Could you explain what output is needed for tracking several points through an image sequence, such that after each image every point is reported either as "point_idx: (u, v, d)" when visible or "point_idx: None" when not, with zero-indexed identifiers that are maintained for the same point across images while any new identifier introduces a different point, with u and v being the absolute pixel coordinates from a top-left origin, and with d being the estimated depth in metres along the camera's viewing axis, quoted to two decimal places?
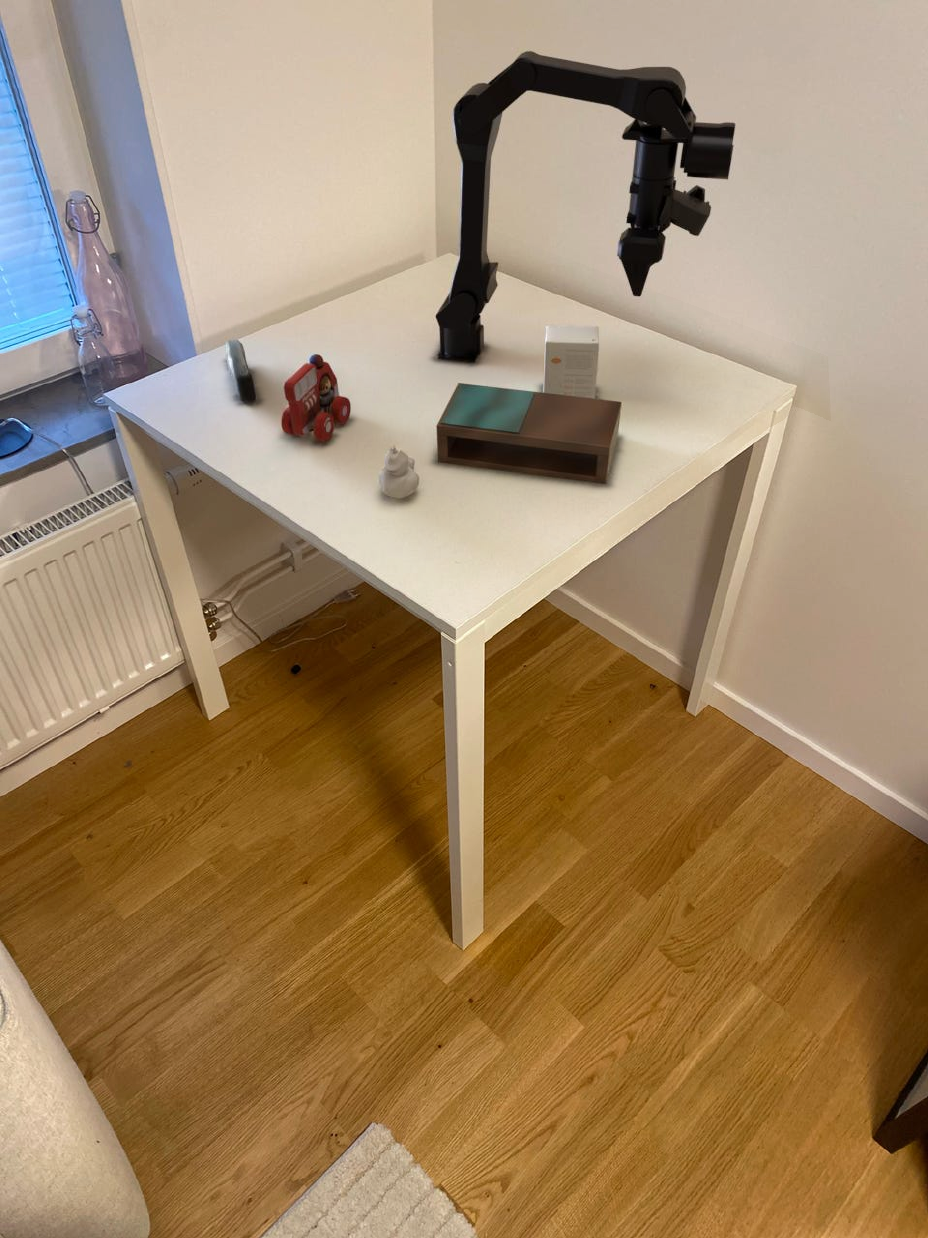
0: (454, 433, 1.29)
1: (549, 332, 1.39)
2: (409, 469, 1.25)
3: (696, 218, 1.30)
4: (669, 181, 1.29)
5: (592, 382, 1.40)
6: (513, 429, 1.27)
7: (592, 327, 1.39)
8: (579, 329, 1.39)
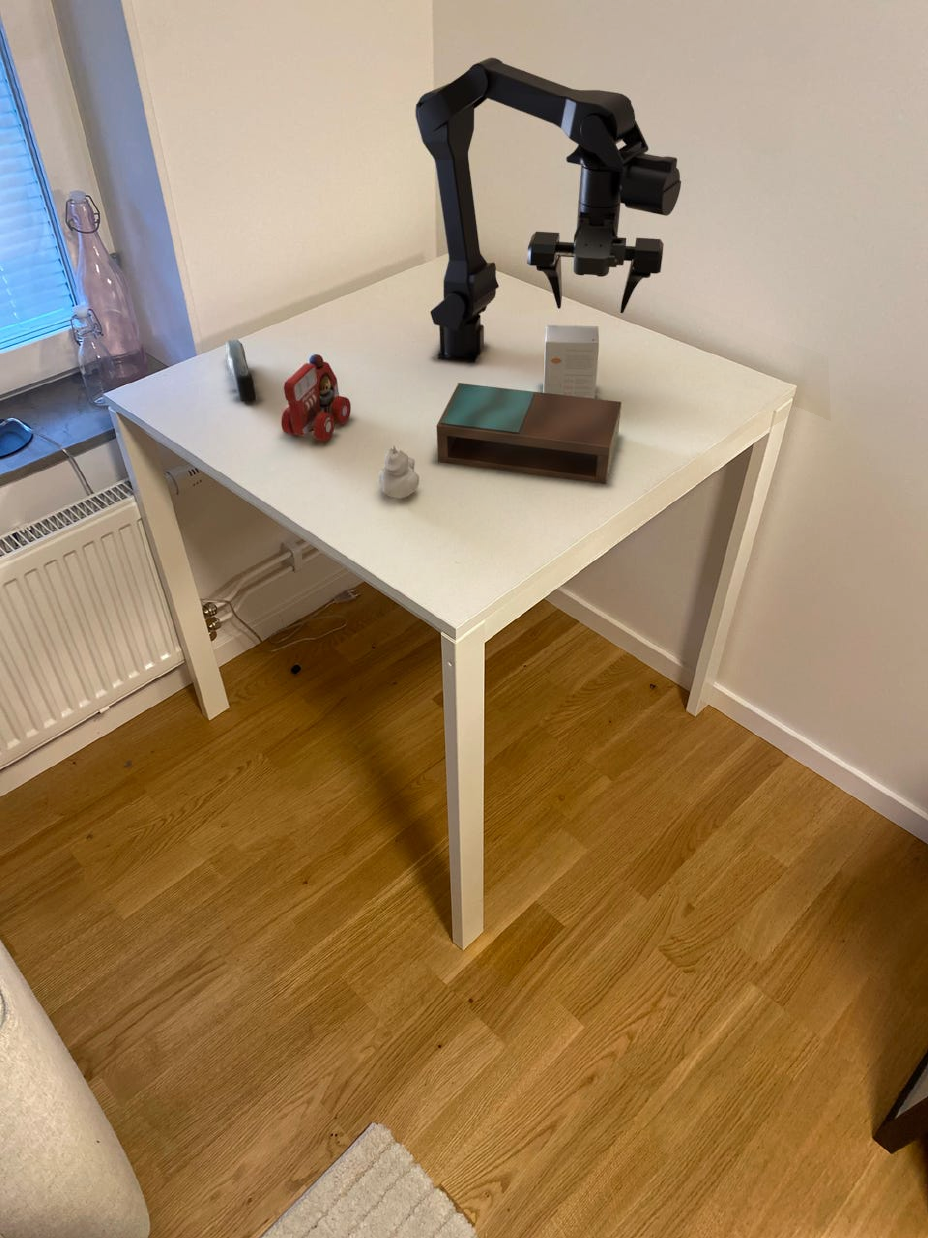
0: (454, 433, 1.29)
1: (549, 332, 1.39)
2: (409, 469, 1.25)
3: None
4: (587, 209, 1.26)
5: (592, 382, 1.40)
6: (513, 429, 1.27)
7: (592, 327, 1.39)
8: (579, 329, 1.39)
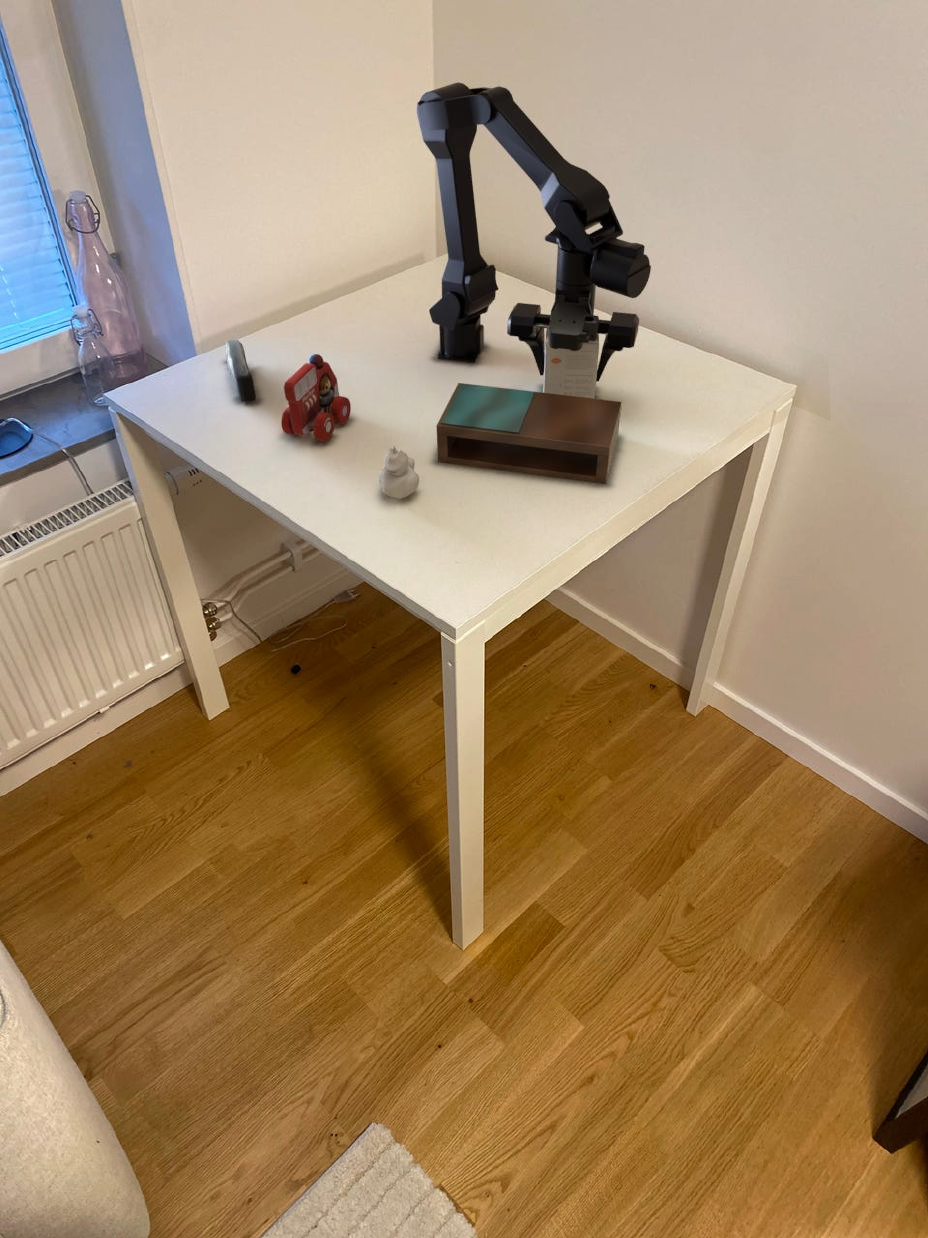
0: (454, 433, 1.29)
1: None
2: (409, 469, 1.25)
3: None
4: (563, 287, 1.31)
5: (592, 382, 1.40)
6: (513, 429, 1.27)
7: None
8: None
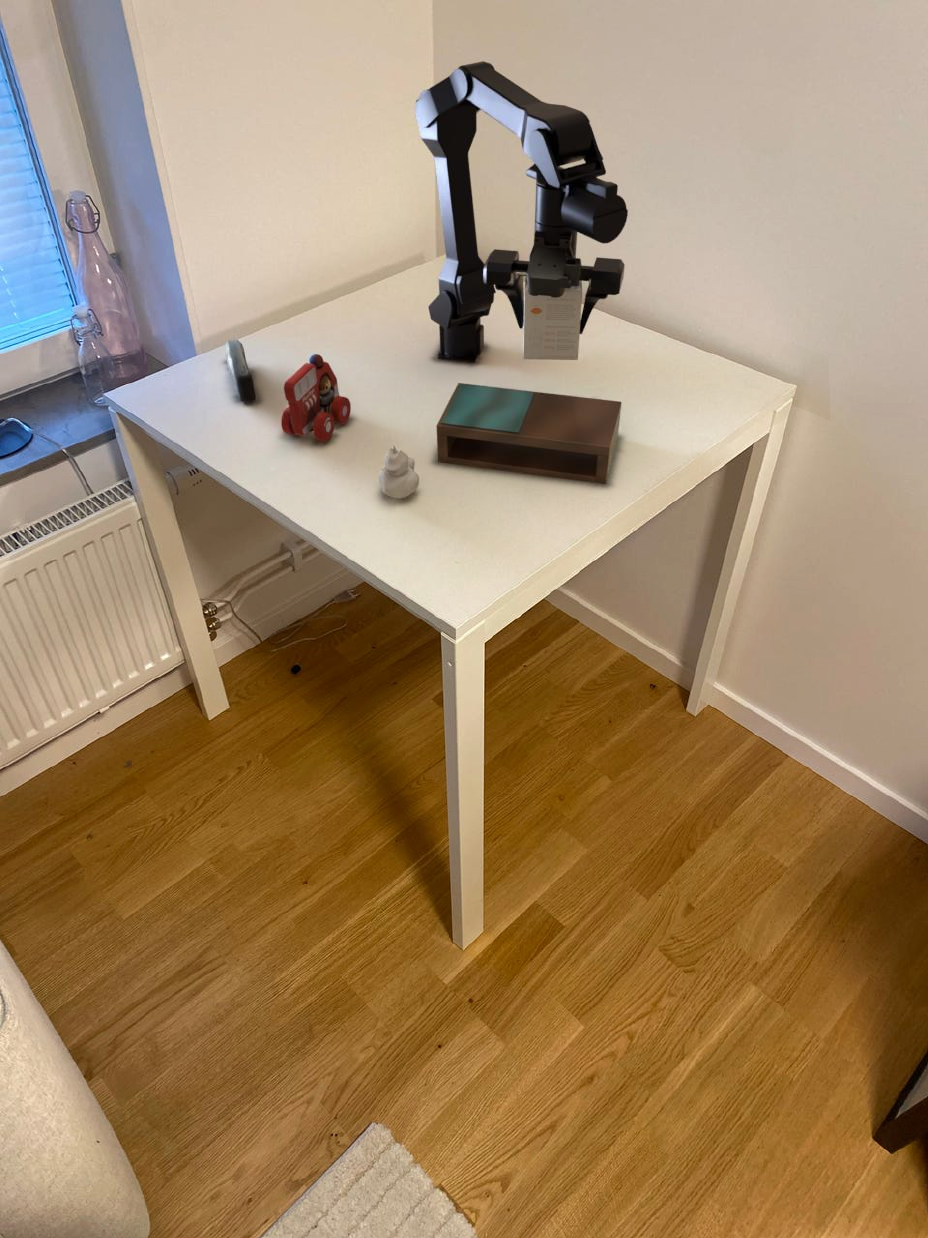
0: (454, 433, 1.29)
1: None
2: (409, 469, 1.25)
3: None
4: (542, 228, 1.22)
5: (575, 335, 1.31)
6: (513, 429, 1.27)
7: None
8: None
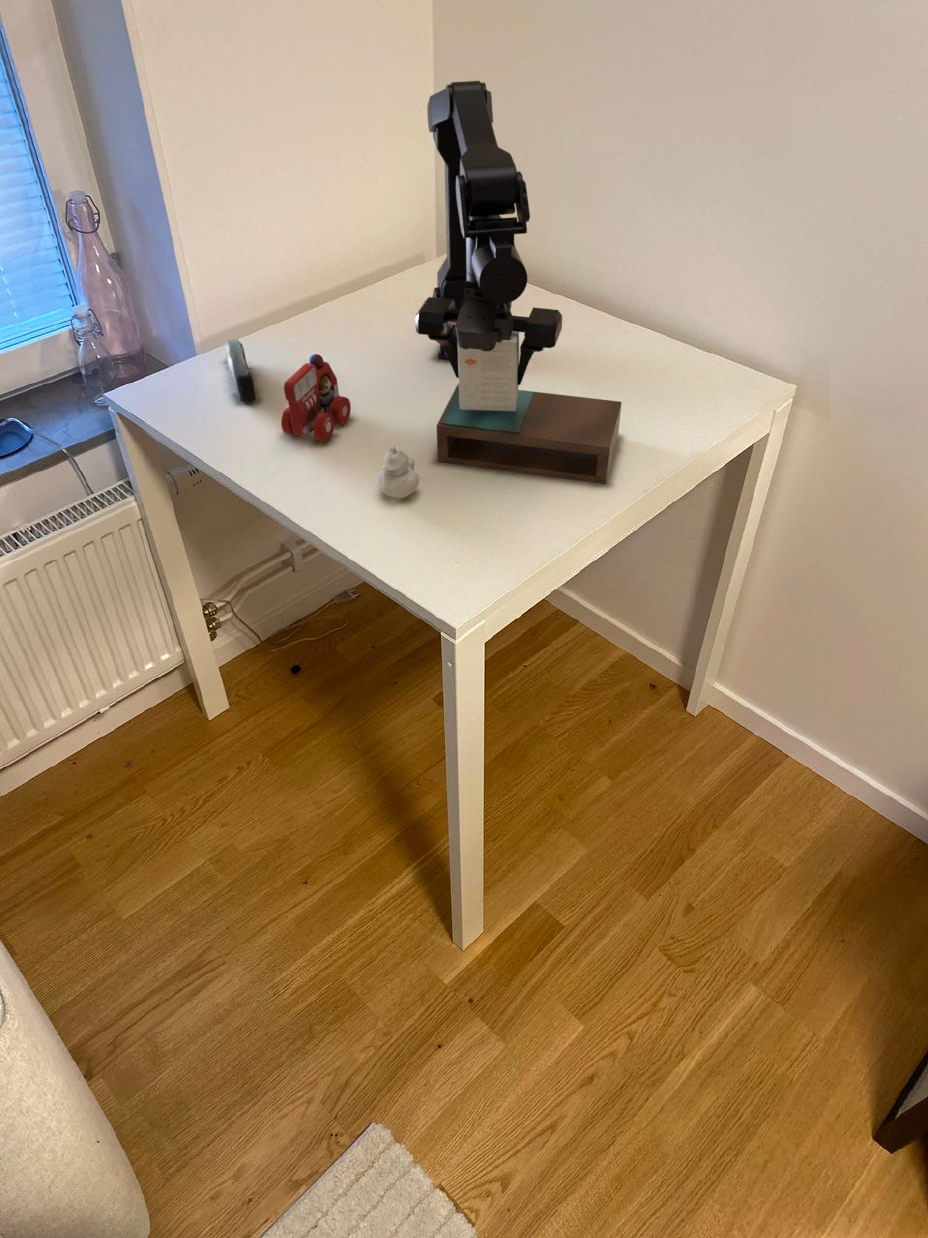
0: (454, 433, 1.29)
1: None
2: (409, 469, 1.25)
3: None
4: (473, 279, 1.17)
5: (512, 386, 1.26)
6: (513, 429, 1.27)
7: None
8: None
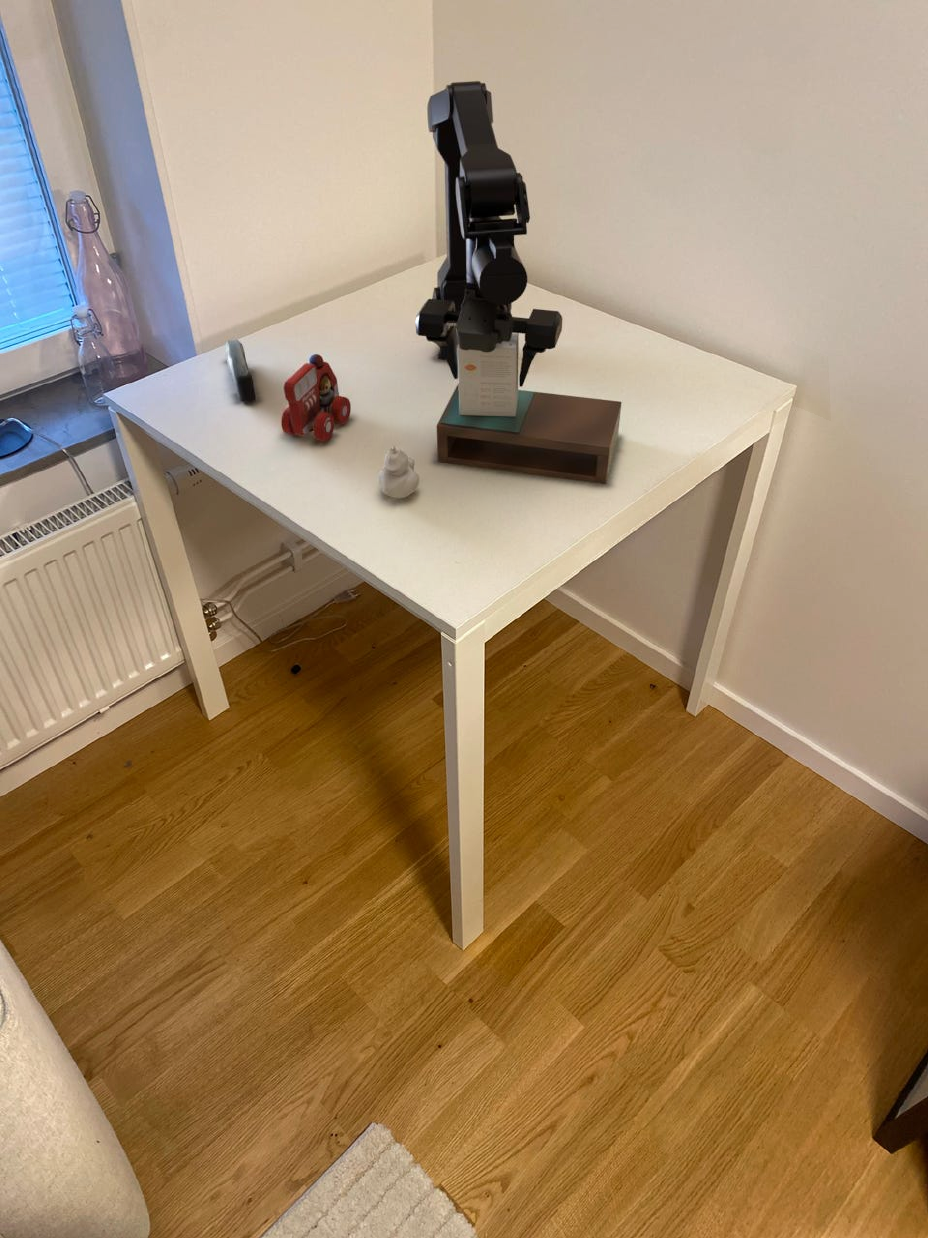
0: (454, 433, 1.29)
1: None
2: (409, 469, 1.25)
3: None
4: (473, 280, 1.17)
5: (512, 391, 1.27)
6: (513, 429, 1.27)
7: None
8: None
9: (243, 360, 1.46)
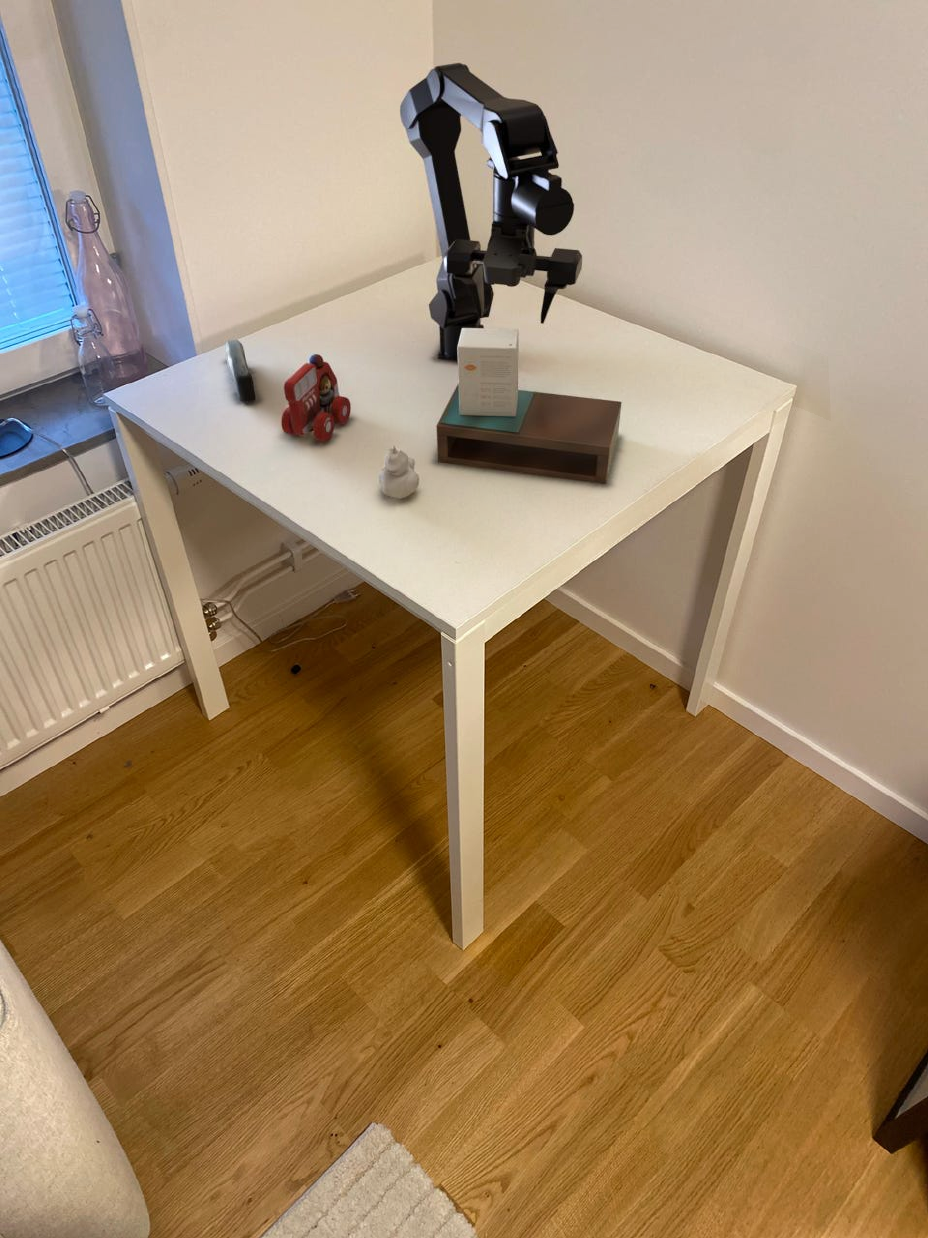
0: (454, 433, 1.29)
1: (463, 335, 1.25)
2: (409, 469, 1.25)
3: None
4: (499, 218, 1.25)
5: (512, 391, 1.27)
6: (513, 429, 1.27)
7: (511, 330, 1.26)
8: (497, 332, 1.25)
9: (243, 360, 1.46)
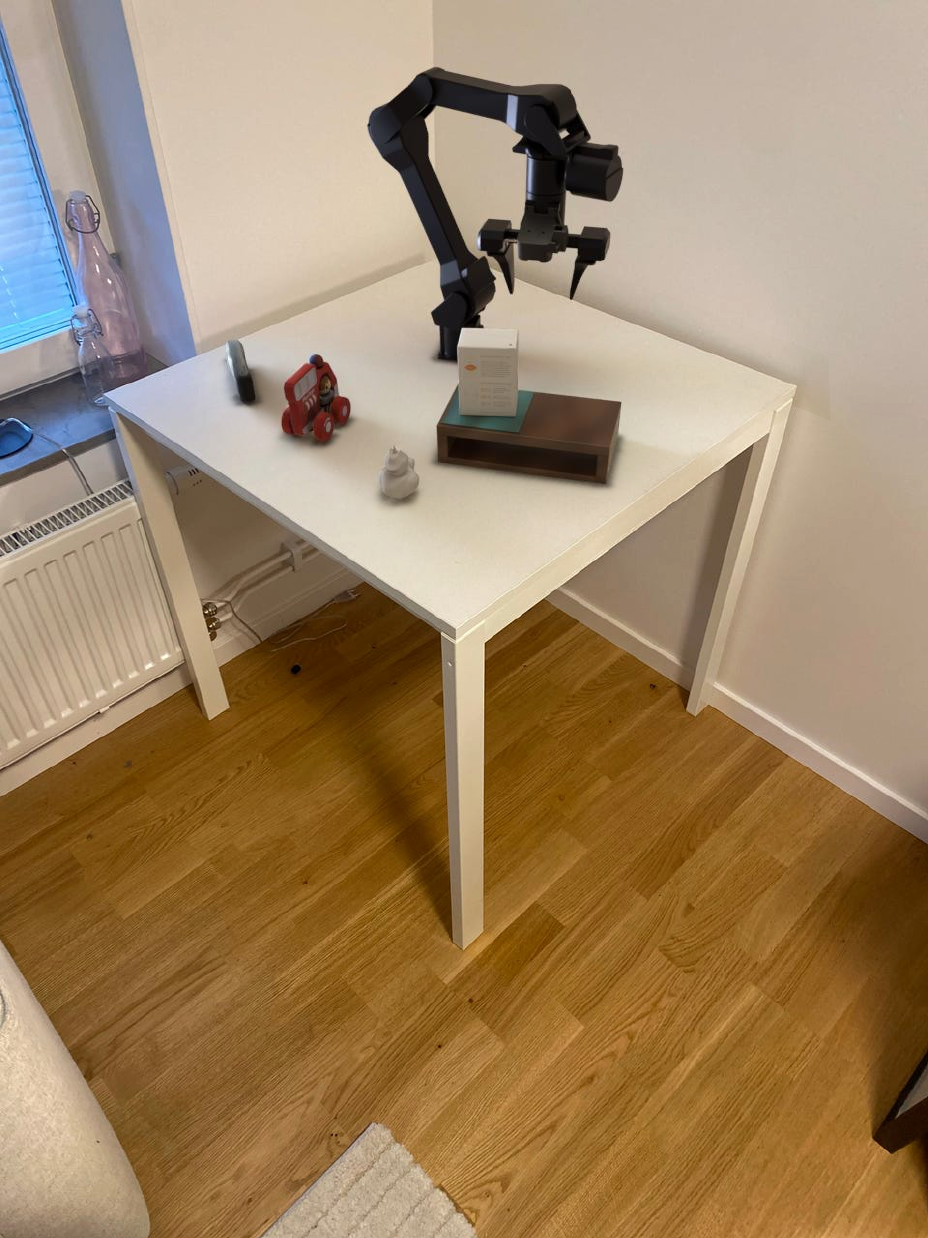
0: (454, 433, 1.29)
1: (463, 335, 1.25)
2: (409, 469, 1.25)
3: None
4: (532, 197, 1.30)
5: (512, 391, 1.27)
6: (513, 429, 1.27)
7: (511, 330, 1.26)
8: (497, 332, 1.25)
9: (243, 360, 1.46)
